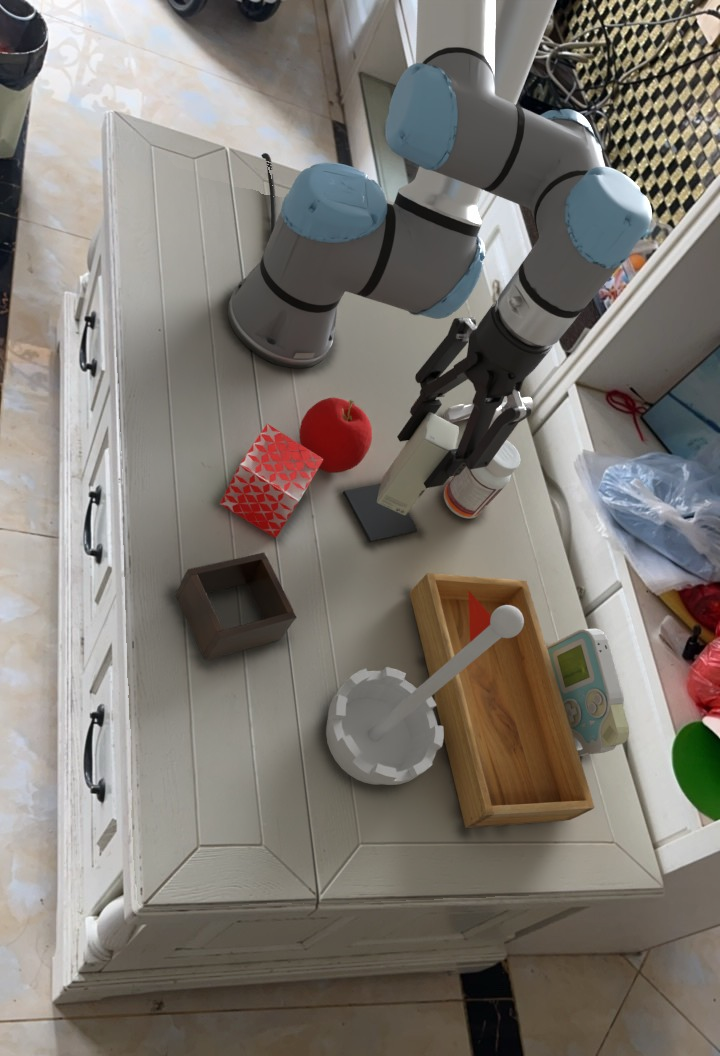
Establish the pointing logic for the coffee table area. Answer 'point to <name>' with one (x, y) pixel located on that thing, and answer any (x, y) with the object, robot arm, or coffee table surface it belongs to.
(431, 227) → the robot arm
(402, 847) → the coffee table surface
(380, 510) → the mat
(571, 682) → the handheld gaming console
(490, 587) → the tray
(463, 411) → the tablet stand
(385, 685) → the flag stand
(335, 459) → the fruit
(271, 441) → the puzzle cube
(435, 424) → the box
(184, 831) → the coffee table surface
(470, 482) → the pill bottle
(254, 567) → the box
